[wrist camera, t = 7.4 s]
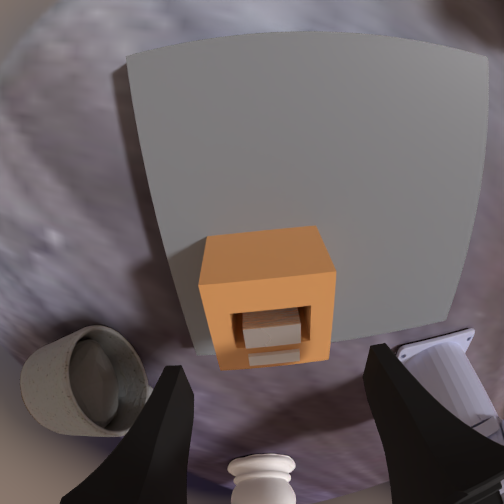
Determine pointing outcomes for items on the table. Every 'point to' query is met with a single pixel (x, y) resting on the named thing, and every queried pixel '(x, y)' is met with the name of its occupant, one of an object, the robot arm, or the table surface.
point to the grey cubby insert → (271, 327)
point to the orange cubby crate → (268, 293)
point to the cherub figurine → (262, 479)
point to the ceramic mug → (86, 384)
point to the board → (319, 161)
